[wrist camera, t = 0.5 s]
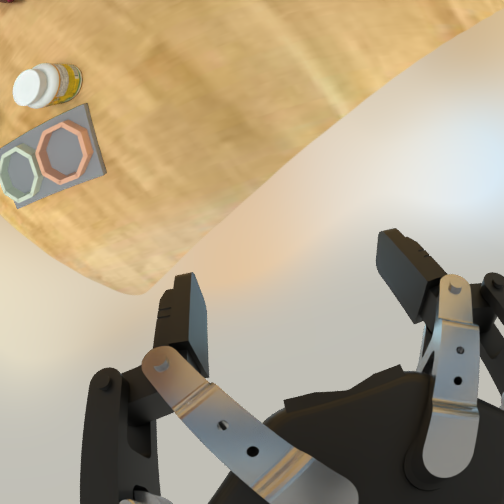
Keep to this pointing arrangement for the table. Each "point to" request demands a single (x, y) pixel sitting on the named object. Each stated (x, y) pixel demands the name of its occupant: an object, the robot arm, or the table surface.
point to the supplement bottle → (47, 85)
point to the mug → (6, 1)
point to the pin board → (51, 158)
